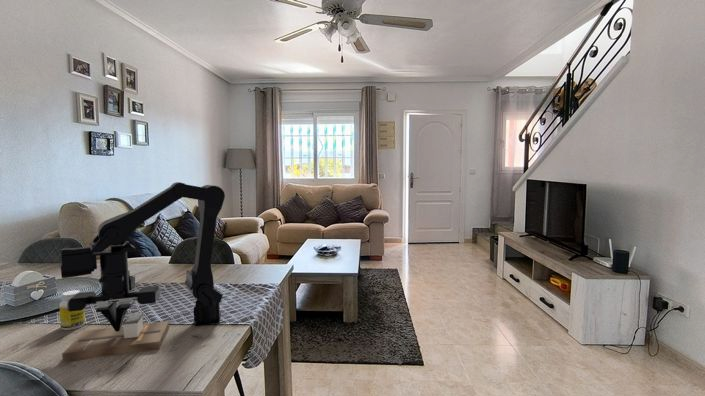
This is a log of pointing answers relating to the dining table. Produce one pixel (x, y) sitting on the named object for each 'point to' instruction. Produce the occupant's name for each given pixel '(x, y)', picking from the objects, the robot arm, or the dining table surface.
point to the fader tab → (133, 325)
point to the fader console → (115, 342)
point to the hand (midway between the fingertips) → (118, 330)
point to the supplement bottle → (70, 313)
